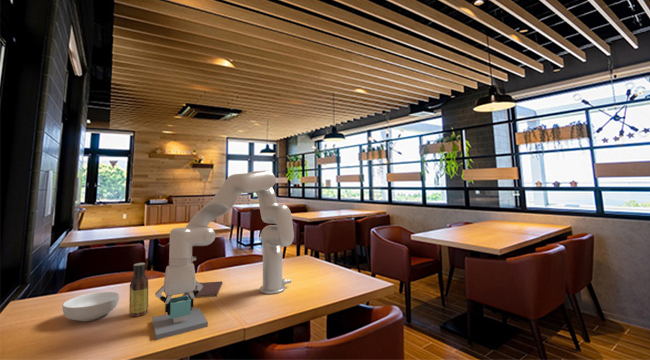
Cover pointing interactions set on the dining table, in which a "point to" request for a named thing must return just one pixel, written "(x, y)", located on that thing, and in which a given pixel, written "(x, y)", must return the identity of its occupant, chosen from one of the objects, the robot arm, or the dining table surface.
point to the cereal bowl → (90, 306)
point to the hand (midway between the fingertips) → (179, 311)
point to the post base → (178, 323)
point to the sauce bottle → (138, 291)
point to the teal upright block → (180, 306)
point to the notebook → (208, 289)
